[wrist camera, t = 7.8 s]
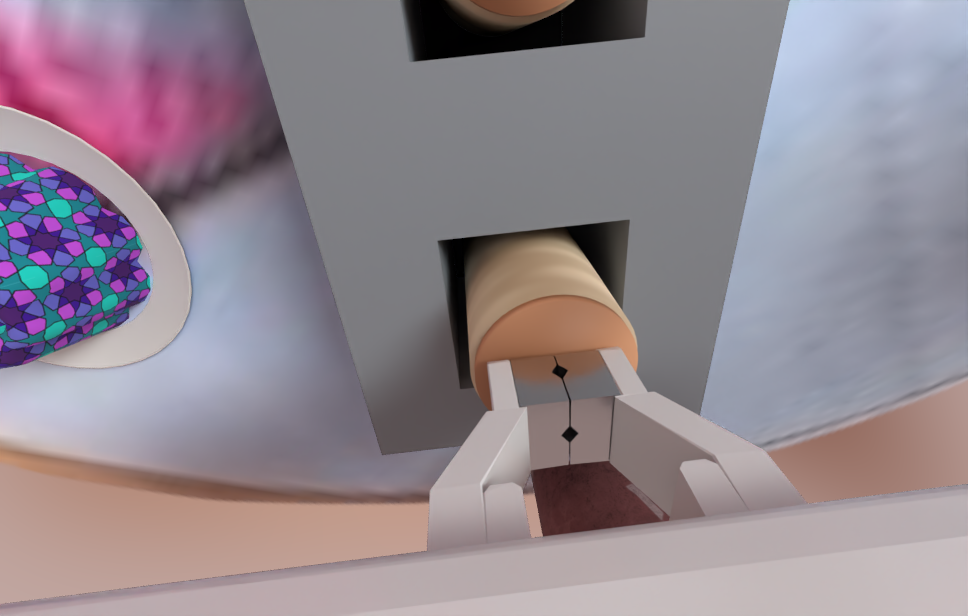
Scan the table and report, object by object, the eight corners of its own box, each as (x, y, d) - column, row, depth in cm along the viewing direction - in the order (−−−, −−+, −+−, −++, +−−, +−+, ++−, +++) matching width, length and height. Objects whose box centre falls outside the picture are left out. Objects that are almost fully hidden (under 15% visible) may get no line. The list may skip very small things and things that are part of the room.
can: (536, 361, 23) (629, 687, 11) (641, 382, 25) (825, 696, 13) (503, 440, 26) (547, 768, 14) (598, 455, 27) (714, 768, 15)
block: (666, -273, 12) (940, -693, 5) (620, 304, 22) (698, 418, 15) (280, -235, 12) (56, -614, 5) (404, 328, 22) (382, 455, 15)
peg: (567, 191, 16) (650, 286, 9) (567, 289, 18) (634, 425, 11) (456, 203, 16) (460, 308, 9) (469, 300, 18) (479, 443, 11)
